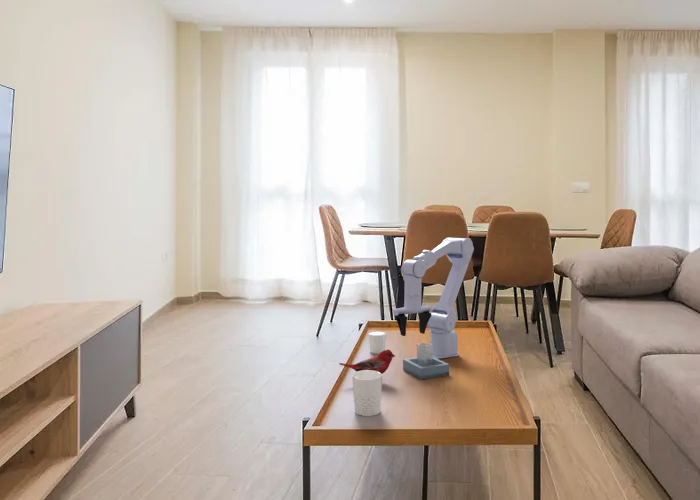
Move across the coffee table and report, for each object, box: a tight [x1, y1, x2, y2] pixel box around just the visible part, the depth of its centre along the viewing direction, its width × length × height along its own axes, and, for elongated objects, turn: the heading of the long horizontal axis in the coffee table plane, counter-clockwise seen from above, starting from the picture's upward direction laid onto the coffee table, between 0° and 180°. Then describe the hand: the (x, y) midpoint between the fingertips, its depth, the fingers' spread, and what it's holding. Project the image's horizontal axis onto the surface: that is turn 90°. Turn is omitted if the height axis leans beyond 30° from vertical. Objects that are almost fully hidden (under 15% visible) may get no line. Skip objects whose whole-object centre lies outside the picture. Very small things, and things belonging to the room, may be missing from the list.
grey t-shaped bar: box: [416, 342, 433, 367], centre depth 168 cm, size 5×6×8 cm
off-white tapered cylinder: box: [368, 330, 387, 354], centre depth 193 cm, size 7×7×7 cm
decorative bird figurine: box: [338, 349, 397, 375], centre depth 159 cm, size 3×18×10 cm, turn 94°
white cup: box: [351, 370, 383, 417], centre depth 136 cm, size 8×8×10 cm
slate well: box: [402, 356, 450, 381], centre depth 168 cm, size 10×11×4 cm
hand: (412, 334), depth 176 cm, fingers open, 7 cm apart
